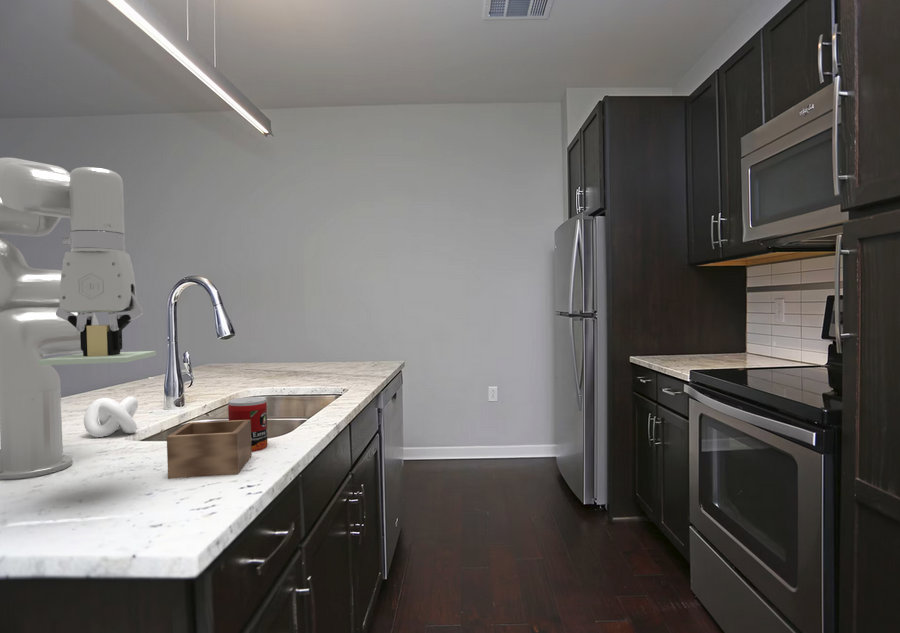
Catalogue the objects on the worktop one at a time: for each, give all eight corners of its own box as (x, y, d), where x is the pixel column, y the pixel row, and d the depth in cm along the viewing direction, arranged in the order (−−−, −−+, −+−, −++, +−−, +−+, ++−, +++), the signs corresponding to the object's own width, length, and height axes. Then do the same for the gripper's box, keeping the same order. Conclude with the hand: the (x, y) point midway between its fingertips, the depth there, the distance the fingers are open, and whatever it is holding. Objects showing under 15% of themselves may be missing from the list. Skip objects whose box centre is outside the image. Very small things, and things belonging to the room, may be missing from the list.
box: (167, 481, 96) (166, 436, 96) (189, 462, 108) (188, 422, 108) (238, 476, 98) (236, 433, 98) (251, 458, 110) (250, 419, 110)
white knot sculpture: (110, 428, 141) (109, 394, 141) (154, 428, 140) (153, 394, 140) (77, 438, 130) (76, 402, 129) (124, 439, 129) (123, 402, 128)
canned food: (255, 455, 112) (254, 403, 112) (221, 454, 114) (220, 402, 113) (274, 446, 120) (273, 397, 119) (242, 444, 121) (241, 396, 121)
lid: (38, 365, 82) (37, 327, 82) (80, 357, 95) (79, 324, 95) (125, 362, 84) (124, 325, 84) (156, 355, 97) (155, 323, 96)
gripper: (30, 242, 84) (34, 358, 85) (142, 242, 87) (145, 355, 87) (57, 247, 92) (60, 354, 92) (159, 247, 94) (162, 351, 95)
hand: (102, 353), depth 90 cm, fingers closed on lid, 3 cm apart
